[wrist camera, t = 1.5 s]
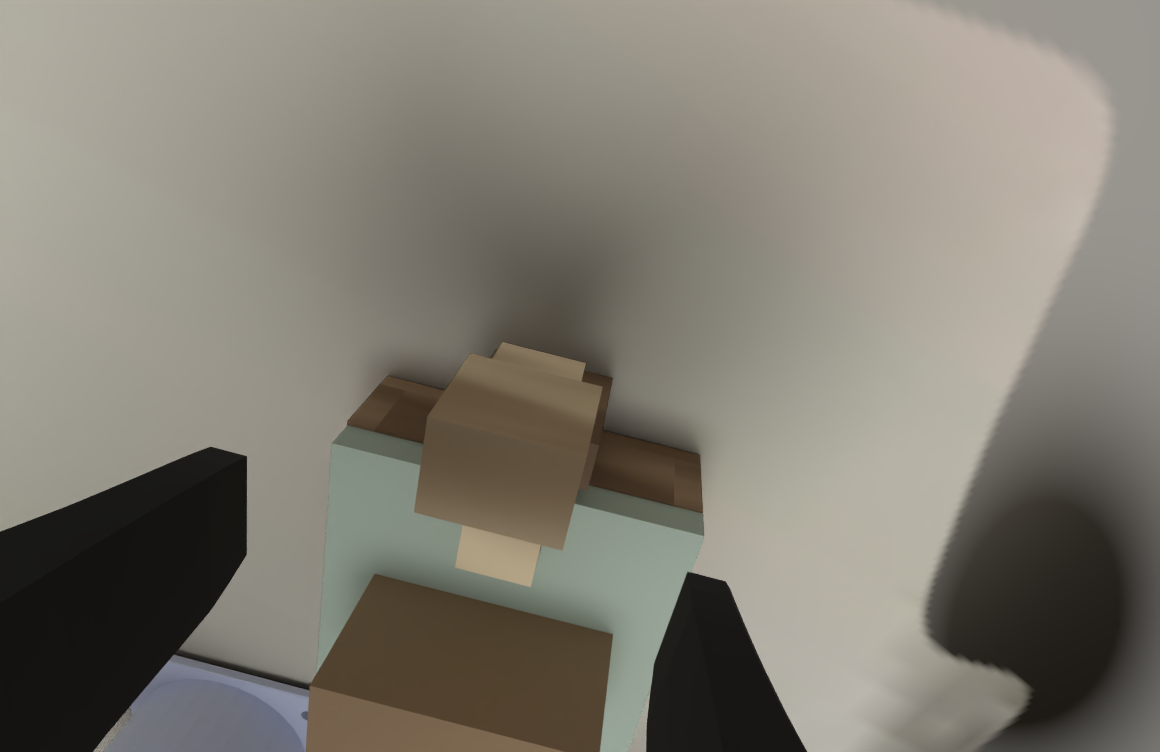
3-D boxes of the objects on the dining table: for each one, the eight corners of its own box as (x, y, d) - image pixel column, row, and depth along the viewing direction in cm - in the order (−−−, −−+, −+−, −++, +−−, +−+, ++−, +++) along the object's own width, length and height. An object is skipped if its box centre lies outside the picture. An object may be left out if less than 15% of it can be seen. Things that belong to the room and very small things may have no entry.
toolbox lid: (612, 774, 24) (596, 940, 20) (326, 700, 25) (246, 847, 20) (703, 513, 20) (710, 653, 15) (348, 425, 20) (249, 536, 15)
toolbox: (616, 699, 27) (607, 800, 23) (359, 632, 27) (310, 721, 24) (717, 404, 21) (724, 477, 18) (393, 323, 22) (336, 378, 18)
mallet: (555, 566, 19) (527, 686, 16) (447, 538, 19) (394, 651, 16) (606, 368, 17) (587, 457, 13) (481, 336, 17) (427, 416, 13)
